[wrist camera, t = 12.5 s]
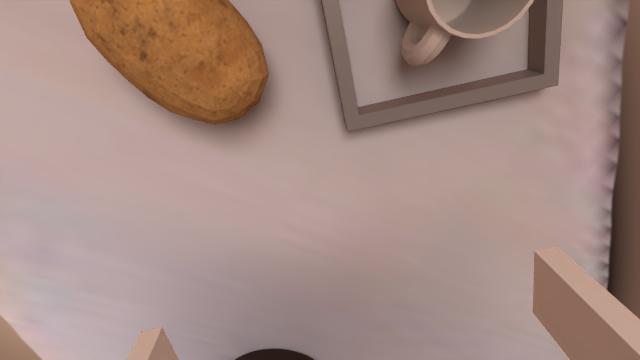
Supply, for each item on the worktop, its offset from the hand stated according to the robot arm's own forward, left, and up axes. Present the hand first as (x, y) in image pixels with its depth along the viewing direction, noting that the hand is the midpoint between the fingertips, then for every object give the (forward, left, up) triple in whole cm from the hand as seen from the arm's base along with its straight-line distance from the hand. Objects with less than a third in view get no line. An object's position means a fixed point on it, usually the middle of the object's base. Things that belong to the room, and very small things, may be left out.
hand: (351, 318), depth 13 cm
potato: (+10, +9, -24) cm, 27 cm away
